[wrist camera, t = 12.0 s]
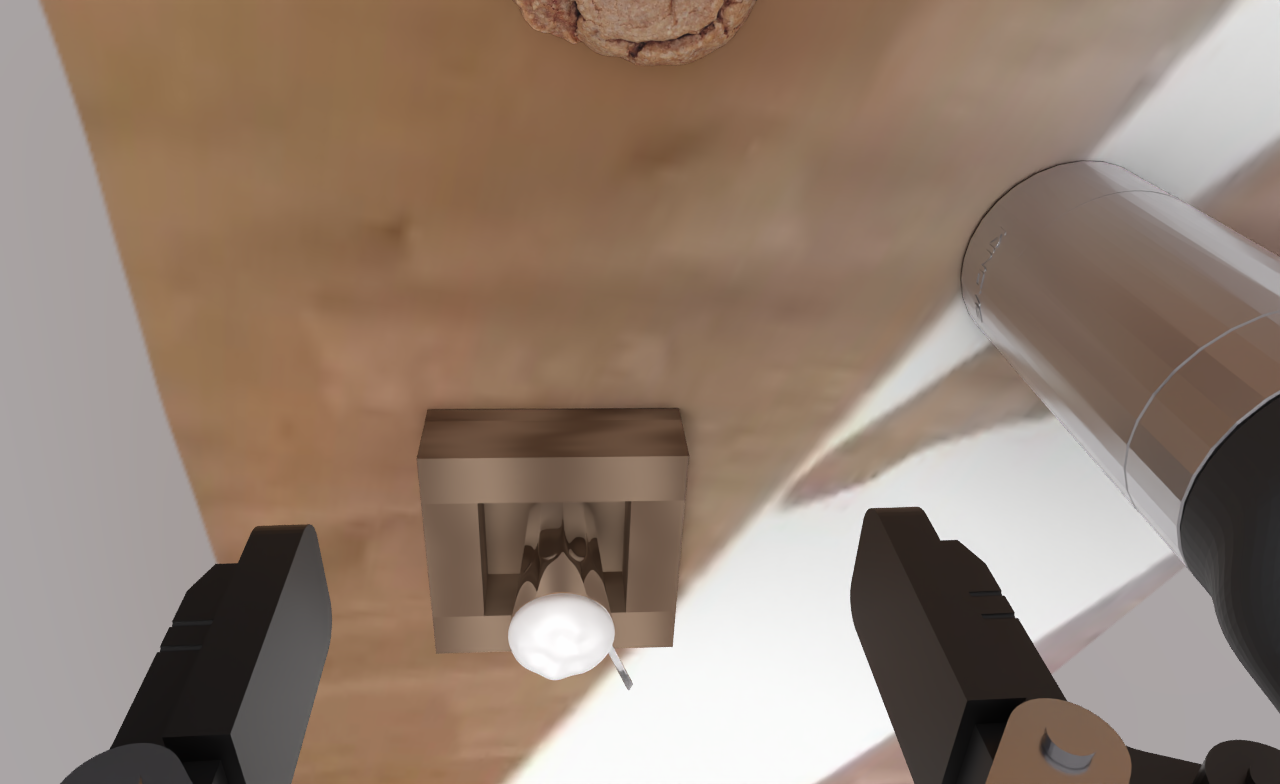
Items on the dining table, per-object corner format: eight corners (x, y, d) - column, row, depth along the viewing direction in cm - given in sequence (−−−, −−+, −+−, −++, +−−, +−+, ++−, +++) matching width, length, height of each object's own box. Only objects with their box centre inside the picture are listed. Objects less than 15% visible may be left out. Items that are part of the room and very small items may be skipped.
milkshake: (600, 564, 48) (610, 722, 39) (502, 537, 46) (490, 695, 38) (634, 499, 46) (652, 651, 37) (533, 469, 44) (528, 620, 36)
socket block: (678, 408, 44) (689, 455, 41) (664, 592, 51) (672, 646, 47) (427, 409, 43) (416, 458, 40) (444, 597, 49) (436, 653, 46)
